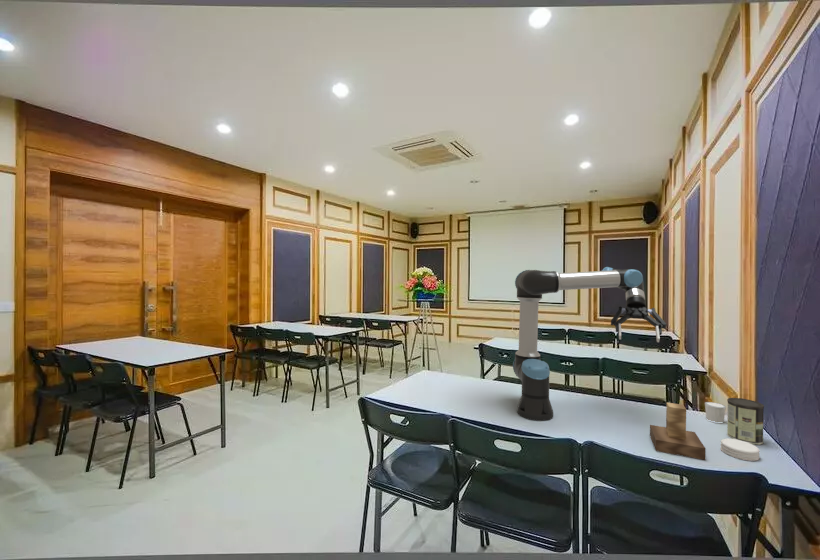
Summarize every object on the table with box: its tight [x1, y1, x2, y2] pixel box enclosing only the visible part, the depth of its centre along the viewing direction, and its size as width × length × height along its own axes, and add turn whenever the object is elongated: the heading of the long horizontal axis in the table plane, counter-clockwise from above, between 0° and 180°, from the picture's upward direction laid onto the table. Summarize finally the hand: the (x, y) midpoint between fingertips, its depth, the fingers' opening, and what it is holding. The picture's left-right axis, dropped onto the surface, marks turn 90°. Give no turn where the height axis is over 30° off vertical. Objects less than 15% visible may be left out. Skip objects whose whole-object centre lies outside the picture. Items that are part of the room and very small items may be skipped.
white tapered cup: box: [704, 401, 727, 422], centre depth 153 cm, size 7×7×7 cm
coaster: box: [720, 438, 761, 462], centre depth 125 cm, size 10×10×4 cm
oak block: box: [665, 402, 687, 440], centre depth 130 cm, size 5×5×11 cm
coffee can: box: [726, 397, 765, 446], centre depth 137 cm, size 10×10×14 cm
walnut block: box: [649, 424, 707, 461], centre depth 130 cm, size 14×14×4 cm
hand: (638, 339), depth 150 cm, fingers open, 13 cm apart
